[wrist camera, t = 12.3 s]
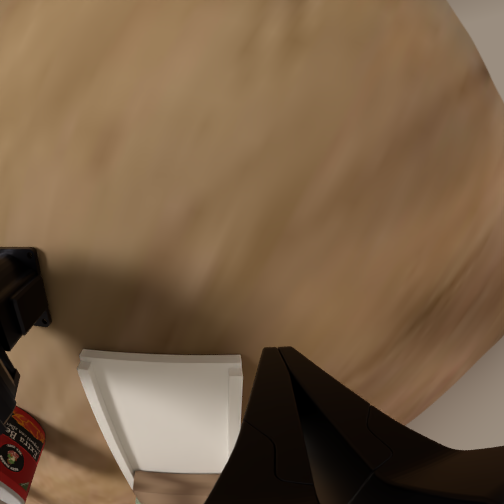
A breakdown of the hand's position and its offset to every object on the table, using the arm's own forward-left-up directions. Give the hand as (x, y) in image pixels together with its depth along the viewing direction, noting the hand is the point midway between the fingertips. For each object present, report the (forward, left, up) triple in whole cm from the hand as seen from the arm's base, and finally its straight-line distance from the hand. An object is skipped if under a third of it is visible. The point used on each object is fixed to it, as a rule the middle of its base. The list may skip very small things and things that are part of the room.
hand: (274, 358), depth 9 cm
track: (-6, -21, -12) cm, 25 cm away
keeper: (-6, -29, -11) cm, 31 cm away
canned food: (-26, -23, -12) cm, 37 cm away
